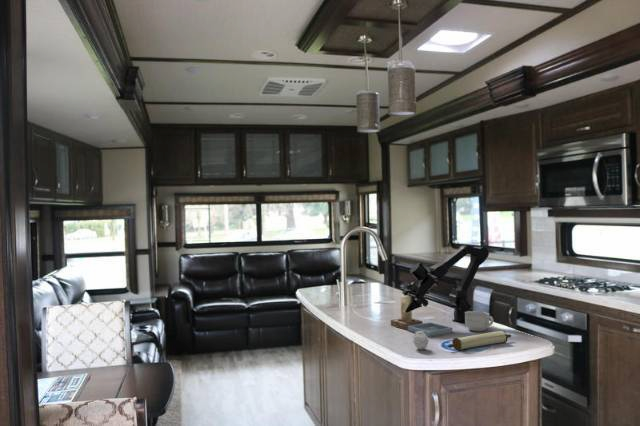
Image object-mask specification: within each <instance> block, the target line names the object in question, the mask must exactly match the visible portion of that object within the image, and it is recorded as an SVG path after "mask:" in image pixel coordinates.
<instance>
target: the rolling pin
mask: <svg viewBox="0 0 640 426" xmlns="http://www.w3.org/2000/svg"><path fill="white" fill-rule="evenodd" d="M509 338H512V335H511V334H510V333H509V334H507V333H506V331H505V330H499V331H493V332H485V333H479V334H473V335H468V336H462V337H454V338H453V339H452V343H451V344H448V345H447V347H448V348H449V349H450V348H451V349H452V348H453V349H454V350H455V349H456V350H455V351H457V350H458V352H460V351H462V350H466V349H471V348H476V347H481V346H488V345H494V344H499V343H500V344H501V343H504V344H506V343H507V342H508V340H509Z"/></svg>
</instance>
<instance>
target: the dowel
mask: <svg viewBox="0 0 640 426" xmlns="http://www.w3.org/2000/svg"><path fill="white" fill-rule="evenodd" d="M410 303H411V296H404V295H401V296H400V311H401V312H400V318H401V322H405V323H407V322H412V317H413V316H412V315H413V314H412V313H413V310H412V311H410V312H408V313H406V312H405V311H406V309H407V307H408V306H409V304H410Z"/></svg>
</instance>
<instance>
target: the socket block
mask: <svg viewBox="0 0 640 426" xmlns="http://www.w3.org/2000/svg"><path fill="white" fill-rule="evenodd" d="M422 323H423V320H419V319H417V318H416V319H415V318H412V322H407V323H405V322H401V317H400V318H395V319H390V326H394V327H397V328H399V329H403V330H408V326H411V325H417V324H422Z"/></svg>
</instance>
